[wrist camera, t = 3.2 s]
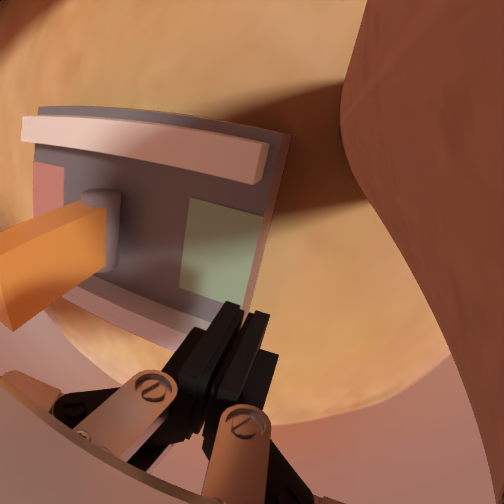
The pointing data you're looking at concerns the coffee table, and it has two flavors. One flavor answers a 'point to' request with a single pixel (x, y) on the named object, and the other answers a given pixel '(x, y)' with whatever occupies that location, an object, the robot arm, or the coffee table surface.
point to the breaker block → (163, 209)
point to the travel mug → (440, 173)
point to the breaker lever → (57, 253)
